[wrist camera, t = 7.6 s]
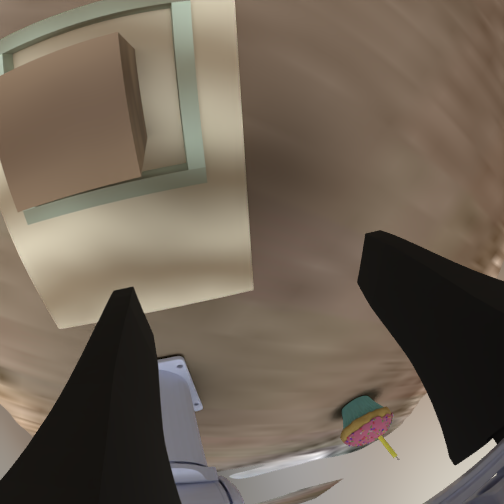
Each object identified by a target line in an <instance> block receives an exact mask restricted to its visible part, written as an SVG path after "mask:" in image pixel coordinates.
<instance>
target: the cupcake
mask: <svg viewBox="0 0 504 504" xmlns="http://www.w3.org/2000/svg"><path fill="white" fill-rule="evenodd" d="M342 417H343V431H342V433H341V437H340V438H341V440H342V441H343V442H344V443H345V444H346V445H348V446H356V447H358V446H361V445H362V446H363V445H365V444H369V443H371V442H372V441H374V440H376V439H377V438H378V439H379V440H380V441H381V442H382V443H383V445H384V446H385V448H386V449H387V450H388V451H389V453H390V454H391V455H392V456H393V458H394V457H396V458H397V459H398V457H397V454H396V453H395V452H394V451H393V449H392V448H391V447H390V446H389V444H388V443H387V442H386V440H385V439H384V438H383V437H382V435H384V433H385V432H386V431H387V430H388V429H389V427H390V424H391V422H392V419H393V412H392V413H391V412H390V410H389V409H388V407H382V406H381V405H379V404H377V403H376V402H374V401H373V400H372V399H371V398H370V397H368V396H361V397H358V398H356V399H354V400H352V401H351V402H349V403H348V404H347V405H346V406H344V408H343V409H342ZM398 460H399V459H398Z"/></svg>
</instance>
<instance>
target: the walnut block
mask: <svg viewBox="0 0 504 504" xmlns="http://www.w3.org/2000/svg"><path fill="white" fill-rule="evenodd" d="M146 143H147V132H146V126H145V120H144V114H143V107H142V101H141V94H140V87H139V80H138V73H137V65H136V56H135V49H134V48H133V47H132V46H131V45H130V44H129V43H128V42H127V41H126V40H125V39H124V38H123V37H122V36H121V35H120V34H119V33H118V32H115V33H111V34H108V35H104V36H100V37H97V38H93V39H90V40H87V41H84V42H80V43H77V44H74V45H71V46H69V47H66V48H63V49H60V50H57V51H55V52H52V53H50V54H47V55H45V56H42V57H40V58H37V59H35V60H33V61H30V62H28V63H26V64H23V65H21V66H19V67H17V68H15V69H13V70H11V71H9V72H7V73H5V74H3V75H1V76H0V161H1V164H2V168H3V171H4V174H5V178H6V181H7V184H8V187H9V190H10V193H11V195H12V198H13V201H14V204H15V207H16V209H17V212H21V211H24V210H27V209H30V208H32V207H35V206H38V205H42V204H45V203H48V202H51V201H54V200H57V199H60V198H64V197H67V196H70V195H74V194H77V193H81V192H84V191H88V190H91V189H95V188H99V187H102V186H106V185H110V184H114V183H118V182H122V181H126V180H130V179H134V178H138V177H141V174H142V168H143V161H144V155H145V149H146Z"/></svg>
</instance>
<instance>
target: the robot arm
mask: <svg viewBox="0 0 504 504" xmlns="http://www.w3.org/2000/svg"><path fill="white" fill-rule="evenodd" d="M357 283H358V285H359V287H360V289H361V291H362V292H363V294H364V296H365V298H366V300H367V301H368V303H369V305H370V306H371V308H372V309H373V311H374V312H375V313H376V315H377V316H378V317H379V319H380V320H381V321H382V323H383V324H384V325H385V327H386V328H387V329H388V331H389V332H390V333H391V335H392V336H393V337H394V339H395V340H396V341H397V343H398V344H399V345H400V347H401V348H402V349H403V351H404V352H405V354H406V355H407V357H408V358H409V360H410V361H411V363H412V364H413V366H414V368H415V370H416V372H417V374H418V375H419V377H420V379H421V381H422V383H423V385H424V387H425V389H426V391H427V393H428V396H429V398H430V400H431V402H432V404H433V407H434V409H435V412H436V415H437V417H438V420H439V422H440V425H441V428H442V431H443V434H444V438H445V441H446V445H447V449H448V453H449V457H450V459H451V460H452V462H453V464H454V465H457V464H459V463H460V462H462V461H463V460H464V459H466V458H467V457H469V456H470V455H472V454H473V453H475V452H476V451H477V450H479V449H480V448H481V447H483V446H484V445H485V444H487V443H488V442H489V441H490V440H491V439H492V438H493V439H494V440H495V442H496V443H497V445H496V446H495V447H494V448H493V449H492V450H491V451H490V452H489V453H488V454H487V455H486V456H485V457H483V458H482V459H481V460H480V461H479V462H478V463H477V464H475V465H474V466H473V467H472V468H471V469H469V470H468V471H467V472H466V473H465V474H463V475H462V476H461V477H460V478H458V479H457V480H456V481H454V482H453V483H452V484H450V485H449V486H448V487H447V488H445V489H444V490H443V491H441V492H439V493H438V494H437V495H435V496H434V497H432V498H431V499H429V500H428V501H426V502H425V503H423V504H504V281H502V280H498V279H496V278H493V277H490V276H487V275H485V274H482V273H479V272H477V271H474V270H472V269H469V268H467V267H465V266H462V265H460V264H458V263H455V262H453V261H451V260H448V259H446V258H444V257H442V256H440V255H437V254H435V253H433V252H431V251H429V250H427V249H424V248H422V247H420V246H418V245H416V244H414V243H411V242H409V241H407V240H405V239H402V238H400V237H397V236H395V235H392V234H390V233H387V232H384V231H381V230H379V231H375V232H371V233H366V234H365V240H364V246H363V252H362V258H361V264H360V270H359V276H358V281H357ZM202 409H203V406H202V403H201V401H200V398H199V396H198V393H197V391H196V388H195V386H194V383H193V381H192V378H191V376H190V373H189V371H188V368H187V365H186V363H185V360H184V358H183V357H181V356H175V357H170V358H165V359H159V360H157V354H156V348H155V342H154V336H153V333H152V331H151V328H150V326H149V324H148V321H147V319H146V317H145V314H144V312H143V309H142V307H141V304H140V302H139V299H138V297H137V294H136V292H135V289H134V287H128V288H124V289H119V290H114V291H113V292H112V294H111V296H110V298H109V300H108V302H107V304H106V306H105V308H104V310H103V312H102V314H101V316H100V318H99V320H98V323H97V325H96V327H95V329H94V331H93V333H92V335H91V337H90V339H89V341H88V343H87V345H86V347H85V349H84V351H83V353H82V355H81V357H80V359H79V361H78V363H77V365H76V367H75V369H74V371H73V373H72V375H71V376H70V378H69V380H68V382H67V384H66V386H65V388H64V389H63V391H62V393H61V395H60V396H59V398H58V400H57V401H56V403H55V405H54V406H53V408H52V410H51V411H50V413H49V415H48V416H47V418H46V419H45V421H44V422H43V424H42V425H41V426H40V428H39V429H38V431H37V432H36V434H35V435H34V437H33V438H32V440H31V441H30V443H29V445H28V446H27V447H26V449H25V450H24V451H23V453H22V454H21V455H20V457H19V458H18V460H17V461H16V462H15V463H14V464H13V466H12V467H11V468H10V470H9V471H8V472H7V473H6V474H5V476H4V477H3V478H2V479H1V480H0V504H245V503H244V500H243V498H242V496H241V494H240V492H239V490H238V489H237V487H236V486H235V485H234V484H233V483H231V482H230V481H229V480H228V479H227V478H225V477H223V476H218V475H217V471H216V468H215V467H208V466H207V462H206V458H205V454H204V450H203V446H202V442H201V438H200V434H199V429H198V425H197V421H196V416H195V411H199V410H202ZM496 473H497V475H496V476H495V477H493V476H494V475H495V474H496ZM492 477H493V478H492ZM491 478H492V479H491Z"/></svg>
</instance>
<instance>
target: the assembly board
mask: <svg viewBox="0 0 504 504" xmlns="http://www.w3.org/2000/svg"><path fill="white" fill-rule="evenodd" d="M115 32H118V33H119V34H120V35H121V36H122V37H123V38H124V39H125V40H126V41H127V42H128V43H129V44H130V45H131V46H132V47H133V48H134V49H135V56H136V65H137V73H138V80H139V87H140V94H141V101H142V107H143V114H144V120H145V126H146V132H147V143H146V149H145V155H144V161H143V168H142V174H141V177H138V178H134V179H130V180H126V181H122V182H118V183H114V184H110V185H106V186H102V187H99V188H95V189H91V190H88V191H84V192H81V193H77V194H74V195H70V196H67V197H64V198H60V199H57V200H54V201H51V202H48V203H45V204H42V205H38V206H35V207H32V208H30V209H27V210H24V211H21V212H17V209H16V207H15V204H14V201H13V198H12V195H11V193H10V190H9V187H8V184H7V181H6V178H5V174H4V171H3V168H2V164H1V161H0V210H1V213H2V216H3V218H4V221H5V223H6V226H7V228H8V231H9V233H10V235H11V238H12V240H13V242H14V245H15V247H16V249H17V251H18V254H19V256H20V258H21V260H22V262H23V264H24V266H25V268H26V270H27V272H28V274H29V276H30V278H31V280H32V282H33V284H34V286H35V288H36V290H37V292H38V294H39V295H40V297H41V299H42V301H43V303H44V304H45V306H46V308H47V309H48V311H49V313H50V315H51V316H52V318H53V320H54V321H55V323H56V325H57V326H58V328H59V329H63V328H69V327H74V326H80V325H86V324H91V323H97V322H98V320H99V318H100V316H101V314H102V312H103V310H104V308H105V306H106V304H107V302H108V300H109V298H110V296H111V294H112V292H113V291H114V290H119V289H124V288H128V287H134V289H135V292H136V294H137V297H138V299H139V302H140V304H141V307H142V309H143V312H144V313H149V312H154V311H159V310H164V309H169V308H174V307H179V306H183V305H188V304H193V303H197V302H202V301H207V300H211V299H216V298H220V297H225V296H229V295H234V294H238V293H242V292H247V291H251V290H254V289H253V274H252V259H251V243H250V228H249V213H248V198H247V183H246V167H245V152H244V137H243V121H242V106H241V91H240V75H239V60H238V44H237V29H236V13H235V0H102V1H99V2H95V3H91V4H88V5H85V6H81V7H78V8H75V9H72V10H69V11H66V12H63V13H60V14H57V15H55V16H52V17H49V18H47V19H44V20H42V21H39V22H37V23H34V24H32V25H30V26H27V27H25V28H23V29H21V30H19V31H16V32H14V33H12V34H10V35H8V36H6V37H4V38H2V39H0V76H1V75H3V74H5V73H7V72H9V71H11V70H13V69H15V68H17V67H19V66H21V65H23V64H26V63H28V62H30V61H33V60H35V59H37V58H40V57H42V56H45V55H47V54H50V53H52V52H55V51H57V50H60V49H63V48H66V47H69V46H71V45H74V44H77V43H80V42H84V41H87V40H90V39H93V38H97V37H100V36H104V35H108V34H111V33H115Z"/></svg>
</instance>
